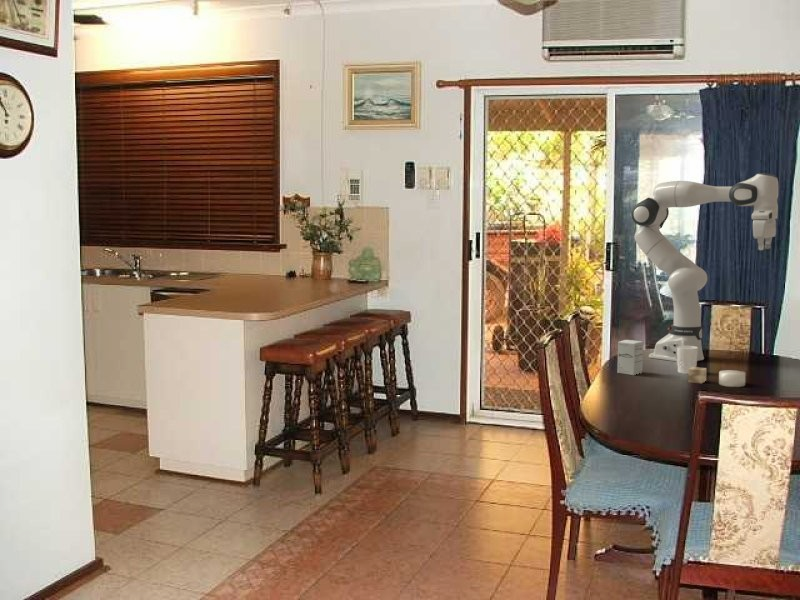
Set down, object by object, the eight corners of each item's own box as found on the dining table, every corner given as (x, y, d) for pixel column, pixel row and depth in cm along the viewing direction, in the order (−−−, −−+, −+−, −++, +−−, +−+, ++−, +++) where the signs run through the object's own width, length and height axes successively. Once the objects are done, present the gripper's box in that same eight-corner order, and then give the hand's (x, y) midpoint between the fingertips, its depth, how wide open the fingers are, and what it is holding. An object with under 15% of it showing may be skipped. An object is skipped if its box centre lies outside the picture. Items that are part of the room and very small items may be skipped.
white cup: (698, 371, 346) (699, 346, 345) (696, 374, 339) (696, 349, 338) (677, 369, 349) (678, 345, 348) (674, 373, 342) (675, 348, 341)
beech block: (688, 382, 326) (688, 368, 326) (692, 379, 330) (693, 366, 329) (701, 383, 323) (702, 370, 323) (706, 381, 327) (706, 368, 327)
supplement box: (616, 373, 344) (617, 341, 343) (626, 370, 349) (626, 339, 348) (633, 375, 339) (634, 343, 338) (643, 372, 344) (643, 341, 343)
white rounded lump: (715, 385, 320) (715, 373, 320) (723, 381, 327) (723, 369, 327) (741, 388, 315) (741, 375, 314) (748, 383, 322) (748, 371, 321)
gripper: (764, 213, 357) (762, 247, 359) (750, 214, 341) (749, 250, 343) (780, 213, 354) (779, 248, 355) (767, 215, 337) (766, 250, 339)
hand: (764, 249), depth 349 cm, fingers open, 8 cm apart
